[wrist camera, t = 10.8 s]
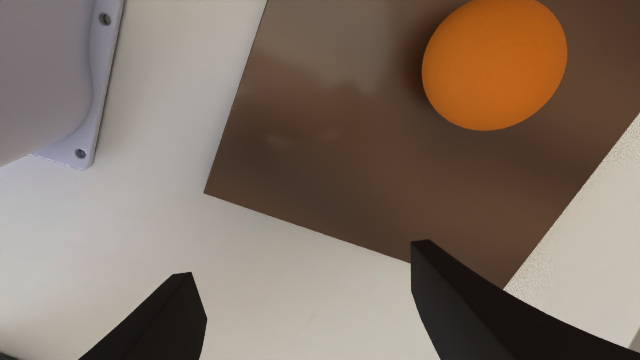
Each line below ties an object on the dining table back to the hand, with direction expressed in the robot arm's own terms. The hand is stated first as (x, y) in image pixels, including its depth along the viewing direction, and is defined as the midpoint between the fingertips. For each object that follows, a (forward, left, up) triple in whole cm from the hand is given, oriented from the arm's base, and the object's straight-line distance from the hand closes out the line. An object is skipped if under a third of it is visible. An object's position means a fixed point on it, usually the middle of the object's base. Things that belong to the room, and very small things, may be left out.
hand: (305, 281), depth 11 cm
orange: (-9, +5, -9) cm, 14 cm away
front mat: (-7, +6, -9) cm, 13 cm away
